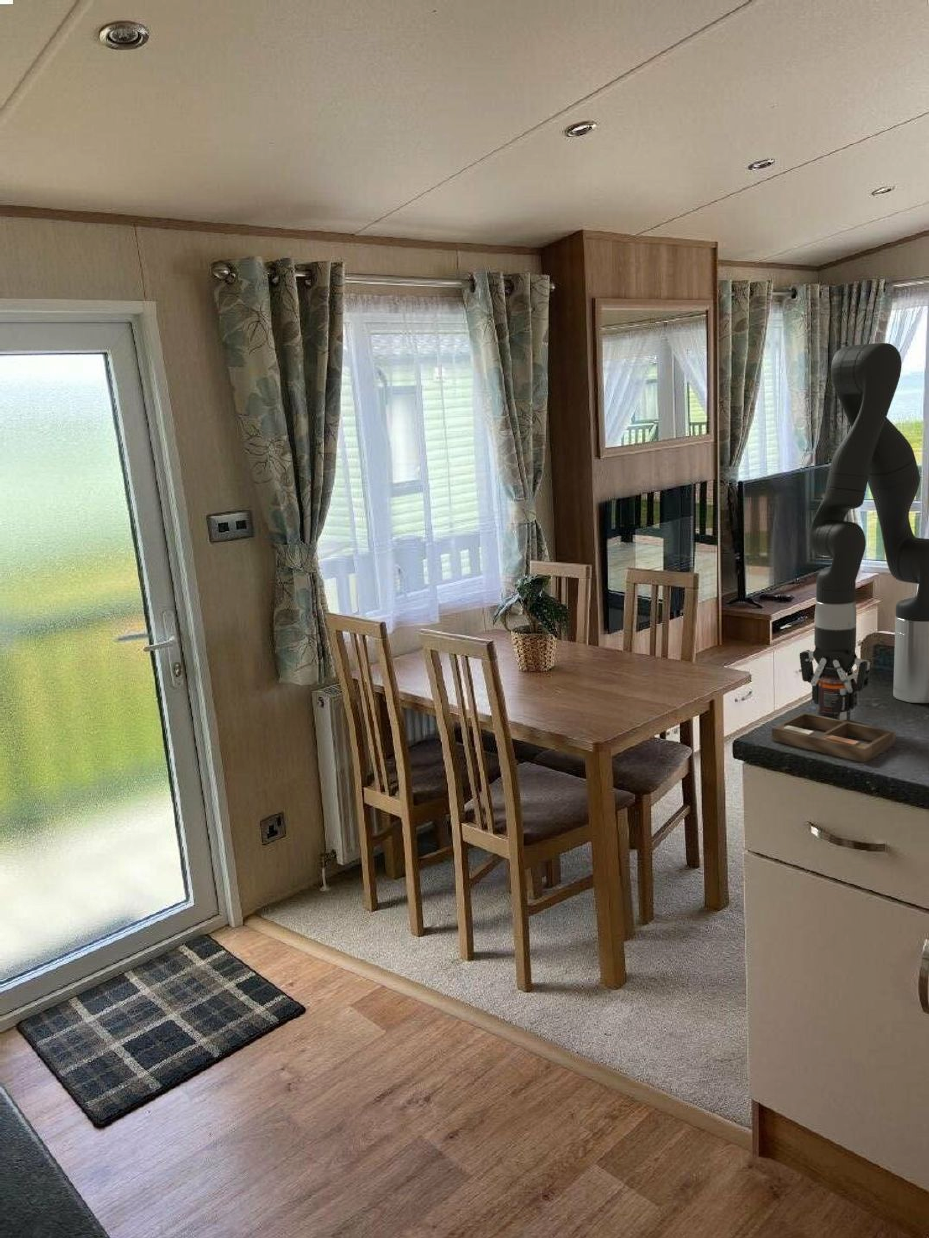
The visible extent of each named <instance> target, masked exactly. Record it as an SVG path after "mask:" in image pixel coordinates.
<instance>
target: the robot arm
mask: <svg viewBox="0 0 929 1238" xmlns="http://www.w3.org/2000/svg"><path fill="white" fill-rule="evenodd" d="M902 362H903V361H902V356H901V353H900V351H899V350H898V348H897V347H896V346H894V345H893V344H891V343H889V342H888V343H887V342H877V343H876V342H875V343H865V344H852V345H847V346H843V347H842V348H840V349H838V350H837V351H836V353H835V354H834V356H833V358H832V360H831V366H830V375H831V382H832V384H833V388H834V390H835V394H836V395H837V398H838V400H839V402H840V404H841V407H842V409H843V412H844V414H845V416H846V419H847V421H848V424H849V426H850V429H849V431H848V432H847V434H846V435H845V436H844V439H842V441H841V443H840V444H839V445H838V447H837V449H835V452H834V455H833V457H832V459H831V462H830V465H829V471H828V475H827V479H826V480H827V481H826V486H825V492H824V496H823V498H822V500H821V502H820V504H819V506H818V509H817V511H816V513H815V514H814V517H813V519H812V522H811V524H810V527H809V531H808V542H809V546H810V548H811V550H812V551H813V553H815V554H817V555H819V556H822V557H823V556H824V557H830V558H832V563H831V565H830V567H829V568H828V569H824V570H821V571H820V572H819V573H818V574H817V576H816V583H815V584H816V589H815V591H816V592H815V593H816V594H815V600H816V601H815V606H814V609H815V610H814V619H813V620H814V636H813V637H814V641H813V642H814V643H813V644H814V646H815V647H814V650H810V649H807V650H803V651H802V652H799V662H800V670H801V679H802V681H803V682H804V683H806V682H807V683H809V684H810V685H811V699H812V701H813V704H815V705H818V685H819V678H820V677H821V676H822V675H824V674H825V673H824V668H825V667H832V668H835V669H836V670H837V672H838V674H839V677H840V679H841V681H842V682H843V683H844V685H845V687H846V690H847V692H846V710H848V711H850V712H851V711H853V710H854V709H855V708H856V707H857V706H858V692H862V691H863V690H865V689H867V688H868V686H869V681H870V675H871V670H872V664H873V661H872V659H868V658H867V659H862V658H859V657H858V655H857V653H856V648H857V613H858V612H857V605H856V593H857V592H856V590H857V589H856V588H857V587H856V581H857V577H858V574H859V572H860V568H861V566H862V562H863V558H864V555H865V550H866V545H867V543H866V542H867V540H866V535H865V532H864V530H863V528H862V527H861V526H860V525H859V524H858V523H856V522H853V521H844V520H845V518H846V516H847V514H848V512H849V511H851V510H854V509H858V508H860V507H861V506H862V505H863V504H864V501H865V497H866V492H867V486H868V488H869V491H870V494H871V497H872V499H873V503H874V507H875V510H876V515H877V517H878V518H877V519H878V522H879V526H880V531H881V532H880V533H881V537H882V544H883V548H884V555H885V559H886V564H887V567H888V570H889V573H890V575H892V577H893V578H894V579H896V580H898V581H900V582H905V583H910V584H916V585H917V586H918V589H917V594H916V596H914V597H909V598H906V599H901V600H899V601H897V603H896V605H895V616H894V617H895V621H894V622H895V625H894V626H895V627H894V656H893V657H894V659H893V687H892V688H893V691H892V692H893V694H892V695H893V697H894V698H895V699H897V700H899V701H903V702H907V703H913V704H914V703H915V704H917V703H918V704H929V538H922V537H916V536H915V535H914V532H913V529H912V526H911V521H910V511H911V507H912V505H913V503H914V500H915V497H916V495H917V493H918V490H919V487H920V482H921V475H920V470H919V467H918V463H917V459H916V456H915V453H914V450H913V447H912V445H911V443H910V442H909V441H908V439H907V438H906V436H904V434H903V433H902V432H901V431H900V430H899V428H897V426H895V425H894V424H893V423H892V422H891V420H890V419H889V417H888V413H889V410H890V407H891V406H892V402H893V399H894V397H895V394H896V391H897V389H898V385H899V381H900V377H901V373H902V368H903V367H902V364H903V363H902ZM814 660H815V662H816V663H817V667H816V669H815V671H814V665H813V663H814ZM854 666H856V670H858V671H857V678H856V673H855V671H854V668H853V667H854Z"/></svg>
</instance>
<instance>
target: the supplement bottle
mask: <svg viewBox="0 0 929 1238" xmlns="http://www.w3.org/2000/svg"><path fill="white" fill-rule="evenodd" d="M824 673H825V674H824V675H822V676H821V677H820V678H819V685H818V704H817V715H819V716H823V717H828V718H833V719H838V720H842V721H847V722H851V711H848V710H846V692H847V690H846V687H845V685H844V683H843V682H842V681H841V679H840V677H839V674H838V672H837V670H836V669H835V668H832V667H825V668H824Z"/></svg>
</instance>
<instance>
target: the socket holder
mask: <svg viewBox="0 0 929 1238" xmlns="http://www.w3.org/2000/svg"><path fill="white" fill-rule="evenodd" d="M804 727H808V728H811V729H817V730H821V731H823V733H821V732H817V731H814V730H809V729H805V728H804ZM824 731H825V732H824ZM845 737H854V738H857V739H861V740H867V741H871V742H869V743H865V742H864V743H863V742H860V741H859V740H854V739H851V738H845ZM895 740H896V731H894V730H889V729H886V728H881V727H876V726H875V727H874V726H869V725H866V724H862V723H856V722H851V721H849V722H847V721H842V720H838V719H833V718H828V717H823V716H819V715H818V714H812V713H809V712H801V713H799V714H797V715H795V716H793V717H791V718H789V719H786V720H784V721H782V722H781V723H779V724H777V725H775V726H773V727H771V741H773V742H776V743H780V744H781V743H782V744H784V745H785V744H786V745H790V746H794V747H799V748H801V749H802V748H803V749H805V750H811V751H815V752H819V753H821V754H822V753H823V754H826V753H827V754H826V755H832V756H834V757H835V756H836V757H840V758H843V759H847V760H851V761H854V762H855V761H856V762H859V763H863V764H865V763H867V762H868V761H870V760H871V759H874V757H876V756H878V755H880V754H881V753H883V752H885V751H887V750H888V749H890V748H891V747H893V746H895V744H896V742H895Z"/></svg>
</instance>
